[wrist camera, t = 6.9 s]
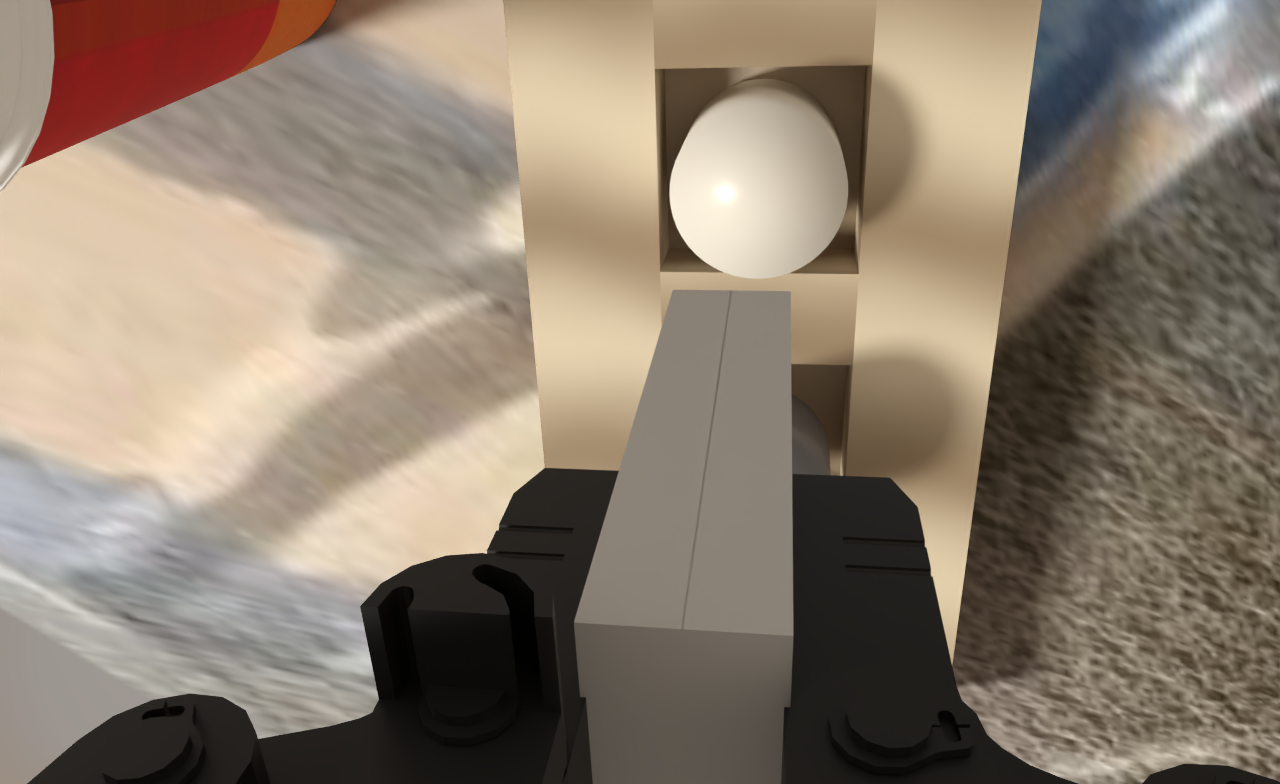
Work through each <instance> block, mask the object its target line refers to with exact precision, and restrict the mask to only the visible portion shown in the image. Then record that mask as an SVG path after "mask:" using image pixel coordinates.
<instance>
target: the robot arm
mask: <svg viewBox="0 0 1280 784" xmlns="http://www.w3.org/2000/svg"><path fill="white" fill-rule="evenodd" d="M360 607H361V612H362V617H363V622H364V627H365V632H366V637H367V642H368V647H369V652H370V657H371V662H372V667H373V672H374V676H375V681H376V686H377V691H378V696H379V701H378V703H377V704H376V706H375V708H374V710H373V712H372V713H371V714H369V715H366V716H364V717H362V718H359V719H356V720H352V721H348V722H344V723H341V724H337V725H333V726H329V727H323V728H318V729H312V730H306V731H301V732H295V733H290V734H284V735H279V736H273V737H268V738H262V739H258V738H257V734H256V732H255V729H254V727H253V725H252V723H251V721H250V719H249V716H248V714H247V712H246V710H244V709H242V708H241V707H239V706H237V705H235V704H234V703H232V702H230V701H229V700H227V699H225V698H223V697H217V696H208V695H198V694H185V695H179V696H174V697H168V698H162V699H156V700H152V701H149V702H147V703H144V704H142V705H140V706H137V707H135V708H132V709H130V710H127V711H125V712H122V713H120V714H117V715H115V716H113V717H111V718H110V719H108V720H107V721H106V722H104V723H103V724H101V725H100V726H98V727H97V728H95V729H94V730H92V731H91V732H89V733H88V734H86V735H85V736H83V737H82V738H81V739H79V740H78V741H77V742H76V743H74V744H73V745H72V746H71V747H69V748H68V749H67V750H66V751H65V752H64V753H62V754H61V756H59V757H58V758H57V759H55V760H54V761H53V762H52V763H51V764H50V765H49V766H48V767H46V768H45V769H44V770H43V771H42V772H40V773H39V774H38V775H37V776H36V777H34V778H33V779H32V780H31V781H30V782H29V783H27V784H1078V783H1075V782H1071V781H1068V780H1065V779H1062V778H1060V777H1057V776H1055V775H1052V774H1050V773H1048V772H1045V771H1043V770H1040V769H1038V768H1035V767H1033V766H1031V765H1029V764H1027V763H1026V762H1024V761H1022V760H1021V759H1019V758H1017V757H1016V756H1014V755H1012V754H1011V753H1009V752H1008V751H1006V750H1004V749H1003V748H1001V747H1000V746H999V745H998V744H997V743H996V742H995V741H993V740H992V739H991V738H990V737H989V736H988V735H987V734H986V732H985V730H984V728H983V726H982V724H981V722H980V720H979V718H978V716H977V714H976V713H975V712H974V711H973V710H972V709H971V708H969V707H968V706H967V705H966V704H965V703H964V702H963V701H962V700H961V697H960V695H959V692H958V689H957V686H956V682H955V677H954V673H953V668H952V663H951V659H950V654H949V649H948V645H947V640H946V635H945V631H944V626H943V622H942V617H941V612H940V608H939V603H938V598H937V594H936V589H935V584H934V580H933V576H931V566H930V561H929V557H928V552H927V547H925V538H924V534H923V529H922V524H921V520H920V515H919V510H918V507H917V506H916V505H915V503H914V502H913V501H912V500H911V499H910V498H909V497H908V496H907V495H906V494H905V493H904V492H903V491H902V490H901V489H900V487H899V486H898V485H897V484H896V483H895V482H894V481H893V480H892V479H891V478H887V477H861V476H835V475H809V474H792V395H791V291H737V290H673V291H672V294H671V297H670V301H669V304H668V308H667V311H666V314H665V318H664V321H663V324H662V328H661V331H660V334H659V338H658V341H657V345H656V348H655V351H654V355H653V358H652V361H651V365H650V368H649V371H648V375H647V378H646V382H645V385H644V388H643V392H642V395H641V398H640V402H639V405H638V408H637V412H636V415H635V419H634V422H633V425H632V429H631V432H630V435H629V439H628V442H627V445H626V449H625V452H624V456H623V459H622V462H621V466H620V469H619V471H615V470H589V469H563V468H544V469H543V470H542V471H541V472H539V473H538V474H537V475H536V476H535V477H533V478H532V479H531V480H530V481H528V482H527V483H526V484H525V485H523V486H522V487H521V488H520V489H519V490H517V491H516V492H515V493H514V494H513V496H512V498H511V500H510V502H509V505H508V507H507V509H506V511H505V513H504V515H503V517H502V520H501V522H500V524H499V531H496V533H495V535H494V537H493V539H492V541H491V543H490V545H489V548H488V550H487V554H484V553H478V554H463V555H449V556H444V557H440V558H437V559H433V560H430V561H427V562H423V563H420V564H417V565H413V566H411V567H409V568H407V569H405V570H404V571H402V572H400V573H399V574H397V575H395V576H393V577H392V578H390V579H388V580H386V581H385V582H383V583H381V584H380V585H379V586H378V588H377V589H376V590H375V591H374V592H373V593H372V594H371V595H370V596H369V597H368V598H367V600H366V601H365V602H364V603H363V604H362V605H361V606H360ZM1142 784H1280V782H1278V781H1276V780H1273V779H1270V778H1267V777H1263V776H1260V775H1257V774H1253V773H1250V772H1247V771H1243V770H1240V769H1237V768H1234V767H1230V766H1221V765H1199V764H1182V765H1179V766H1176V767H1173V768H1170V769H1166V770H1163V771H1160V772H1157V773H1154V774H1151V775H1150V776H1149V777H1148V778H1147V779H1146V780H1145V781H1144V782H1143V783H1142Z"/></svg>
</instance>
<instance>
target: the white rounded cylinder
mask: <svg viewBox="0 0 1280 784" xmlns="http://www.w3.org/2000/svg"><path fill="white" fill-rule="evenodd" d="M669 195H670V206H671V211H672V215H673V218H674V221H675V224H676V227H677V229H678V231H679V233H680V234H681V236H682V238H683V239H684V241H685V242H686V244H687V245H688V246H689V248H690V249H691V250H692V251H693V252H694V253H695V254H696V255H697V256H698V257H700V258H701V259H702V260H703V261H704V262H706V263H707V264H709V265H710V266H712V267H714V268H716V269H718V270H720V271H722V272H724V273H727V274H730V275H733V276H738V277H742V278H752V279H763V278H772V277H778V276H781V275H785V274H788V273H791V272H793V271H795V270H797V269H800V268H801V267H803V266H805V265H806V264H808V263H810V262H811V261H812V260H813V259H815V258H816V257H817V256H818V255H819V254H820V253H821V252H822V251H823V250H824V249H825V248H826V247H827V246H828V245H829V243H830V242H831V241H832V239H833V238H834V236H835V235H836V233H837V231H838V230H839V228H840V225H841V223H842V220H843V218H844V215H845V211H846V207H847V200H848V179H847V172H846V167H845V163H844V158H843V153H842V149H841V144H840V139H839V136H838V132H837V129H836V126H835V124H834V122H833V120H832V118H831V116H830V115H829V113H828V111H827V110H826V109H825V107H824V106H823V105H822V104H821V103H820V102H819V101H818V100H817V99H816V98H815V97H814V96H813V95H811V94H810V93H809V92H807V91H806V90H804V89H802V88H800V87H798V86H796V85H794V84H791V83H788V82H785V81H781V80H776V79H753V80H748V81H743V82H740V83H738V84H735V85H732V86H730V87H728V88H726V89H724V90H723V91H721V92H720V93H718V94H717V95H716V96H714V97H713V98H712V99H711V100H710V101H709V102H708V103H707V104H706V105H705V106H704V107H703V108H702V109H701V111H700V112H699V113H698V115H697V117H696V118H695V120H694V122H693V124H692V126H691V128H690V130H689V132H688V135H687V137H686V139H685V141H684V143H683V145H682V148H681V150H680V152H679V154H678V156H677V159H676V161H675V164H674V167H673V170H672V174H671V180H670V193H669Z"/></svg>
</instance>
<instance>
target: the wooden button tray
mask: <svg viewBox="0 0 1280 784" xmlns="http://www.w3.org/2000/svg"><path fill="white" fill-rule="evenodd" d="M503 3H504V15H505V26H506V37H507V48H508V59H509V70H510V82H511V93H512V104H513V115H514V126H515V137H516V149H517V160H518V171H519V182H520V193H521V205H522V216H523V227H524V238H525V249H526V260H527V272H528V283H529V294H530V305H531V316H532V328H533V339H534V350H535V361H536V372H537V383H538V395H539V406H540V417H541V428H542V439H543V451H544V462H545V468H563V469H589V470H615V471H619V469H620V466H621V462H622V459H623V456H624V452H625V449H626V445H627V442H628V439H629V435H630V432H631V429H632V425H633V422H634V419H635V415H636V412H637V408H638V405H639V402H640V398H641V395H642V392H643V388H644V385H645V382H646V378H647V375H648V371H649V368H650V365H651V361H652V358H653V355H654V351H655V348H656V345H657V341H658V338H659V334H660V331H661V328H662V324H663V321H664V318H665V314H666V311H667V308H668V304H669V301H670V297H671V294H672V291H673V290H737V291H791V394H792V395H794V396H796V397H797V398H799V399H800V400H802V401H803V402H804V403H806V404H807V405H808V406H809V407H810V408H811V409H812V410H813V411H814V412H815V413H816V415H817V416H818V418H819V419H820V421H821V422H822V424H823V426H824V428H825V431H826V434H827V438H828V443H829V455H830V469H831V475H835V476H861V477H887V478H891V479H892V480H893V481H894V482H895V483H896V484H897V485H898V486H899V487H900V489H901V490H902V491H903V492H904V493H905V494H906V495H907V496H908V497H909V498H910V499H911V500H912V501H913V502H914V503H915V505H916V506H917V507H918V510H919V515H920V520H921V524H922V529H923V534H924V538H925V547H927V552H928V557H929V561H930V566H931V576H933V580H934V584H935V589H936V594H937V598H938V603H939V608H940V612H941V617H942V622H943V626H944V631H945V635H946V640H947V645H948V649H949V654H950V659H951V663H953V656H954V649H955V641H956V634H957V626H958V619H959V612H960V604H961V597H962V589H963V582H964V575H965V567H966V560H967V552H968V545H969V538H970V530H971V523H972V515H973V508H974V500H975V493H976V486H977V478H978V471H979V463H980V456H981V449H982V441H983V434H984V426H985V419H986V412H987V404H988V397H989V389H990V382H991V374H992V367H993V360H994V352H995V345H996V337H997V330H998V323H999V315H1000V308H1001V300H1002V293H1003V286H1004V278H1005V271H1006V263H1007V256H1008V249H1009V241H1010V234H1011V226H1012V219H1013V211H1014V204H1015V197H1016V189H1017V182H1018V174H1019V167H1020V160H1021V152H1022V145H1023V137H1024V130H1025V123H1026V115H1027V108H1028V100H1029V93H1030V85H1031V78H1032V71H1033V63H1034V56H1035V48H1036V41H1037V34H1038V26H1039V19H1040V11H1041V4H1042V0H503ZM753 79H776V80H781V81H785V82H788V83H791V84H794V85H796V86H798V87H800V88H802V89H804V90H806V91H807V92H809V93H810V94H811V95H813V96H814V97H815V98H816V99H817V100H818V101H819V102H820V103H821V104H822V105H823V106H824V107H825V109H826V110H827V111H828V113H829V115H830V116H831V118H832V120H833V122H834V124H835V126H836V129H837V132H838V136H839V139H840V144H841V149H842V153H843V158H844V163H845V167H846V172H847V179H848V200H847V207H846V211H845V215H844V218H843V220H842V223H841V225H840V228H839V230H838V231H837V233H836V235H835V236H834V238H833V239H832V241H831V242H830V243H829V245H828V246H827V247H826V248H825V249H824V250H823V251H822V252H821V253H820V254H819V255H818V256H817V257H816V258H815V259H813V260H812V261H811V262H810V263H808V264H806V265H805V266H803V267H801V268H800V269H797V270H795V271H793V272H791V273H788V274H785V275H781V276H778V277H772V278H763V279H752V278H742V277H738V276H733V275H730V274H727V273H724V272H722V271H720V270H718V269H716V268H714V267H712V266H710V265H709V264H707V263H706V262H704V261H703V260H702V259H701V258H700V257H698V256H697V255H696V254H695V253H694V252H693V251H692V250H691V249H690V248H689V246H688V245H687V244H686V242H685V241H684V239H683V238H682V236H681V234H680V233H679V231H678V229H677V227H676V224H675V221H674V218H673V215H672V211H671V206H670V195H669V193H670V180H671V174H672V170H673V167H674V164H675V161H676V159H677V156H678V154H679V152H680V150H681V148H682V145H683V143H684V141H685V139H686V137H687V135H688V132H689V130H690V128H691V126H692V124H693V122H694V120H695V118H696V117H697V115H698V113H699V112H700V111H701V109H702V108H703V107H704V106H705V105H706V104H707V103H708V102H709V101H710V100H711V99H712V98H713V97H714V96H716V95H717V94H718V93H720V92H721V91H723V90H724V89H726V88H728V87H730V86H732V85H735V84H738V83H740V82H743V81H748V80H753Z"/></svg>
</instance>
